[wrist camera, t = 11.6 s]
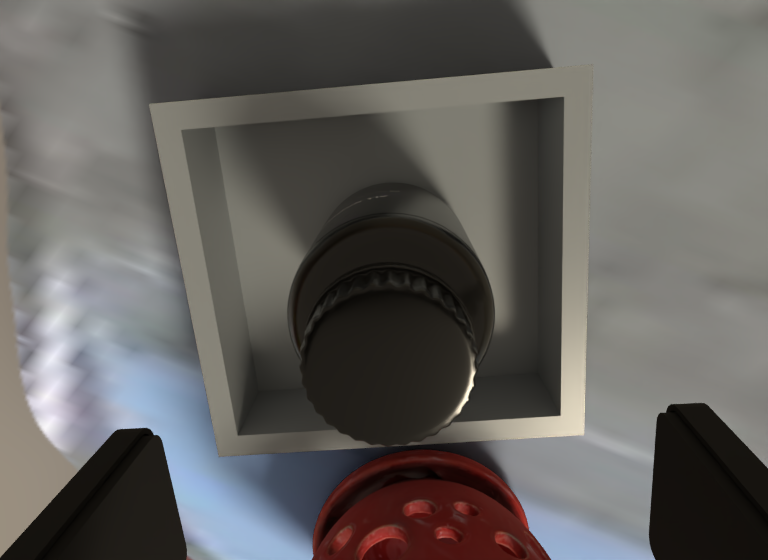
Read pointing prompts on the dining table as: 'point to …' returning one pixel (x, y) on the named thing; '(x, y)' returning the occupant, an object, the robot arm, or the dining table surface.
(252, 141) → the tray
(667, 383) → the dining table surface
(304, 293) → the supplement bottle
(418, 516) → the plant pot
